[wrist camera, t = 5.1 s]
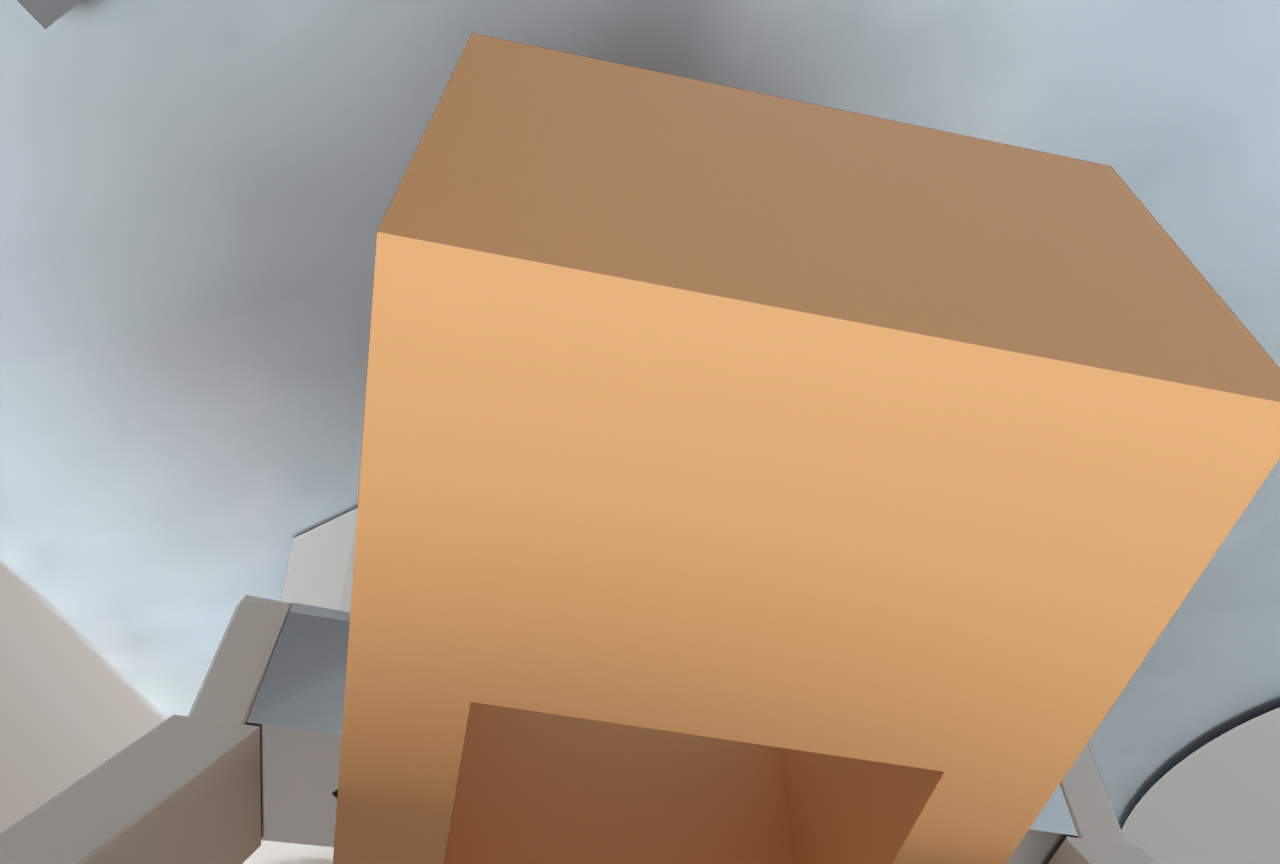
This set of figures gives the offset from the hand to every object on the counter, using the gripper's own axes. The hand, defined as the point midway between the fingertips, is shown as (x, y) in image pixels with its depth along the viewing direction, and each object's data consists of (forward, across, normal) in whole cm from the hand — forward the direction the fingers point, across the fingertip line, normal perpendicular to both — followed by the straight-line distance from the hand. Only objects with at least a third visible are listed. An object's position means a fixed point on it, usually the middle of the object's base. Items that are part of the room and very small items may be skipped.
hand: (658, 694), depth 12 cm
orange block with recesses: (+2, 0, 0) cm, 2 cm away
